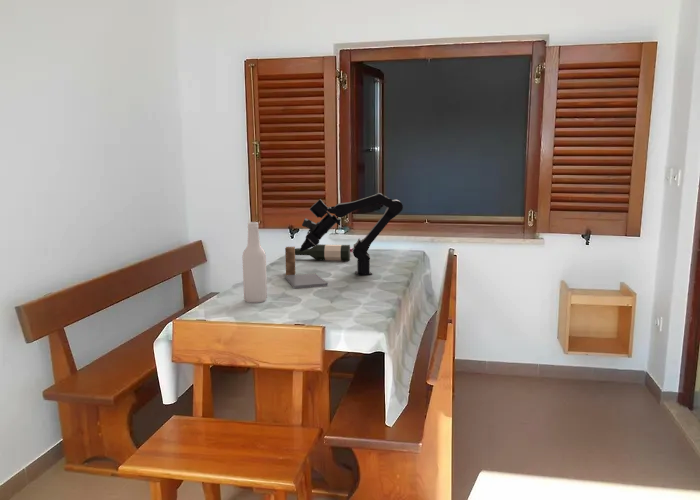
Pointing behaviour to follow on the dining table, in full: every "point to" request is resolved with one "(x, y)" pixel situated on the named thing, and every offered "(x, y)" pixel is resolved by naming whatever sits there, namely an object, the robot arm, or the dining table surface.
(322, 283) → the slate board
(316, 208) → the robot arm
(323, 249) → the wine bottle
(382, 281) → the dining table surface
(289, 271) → the wooden pillar
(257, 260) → the alcohol
